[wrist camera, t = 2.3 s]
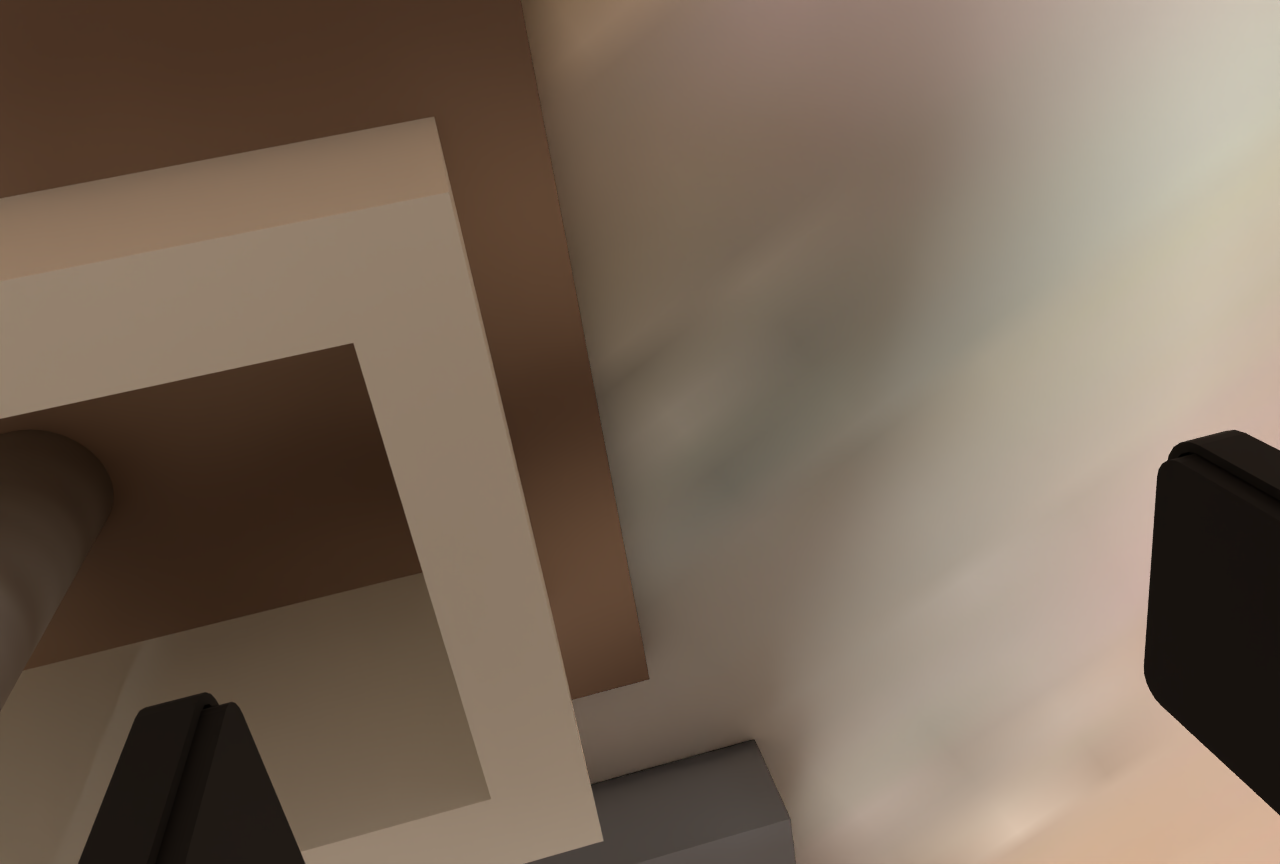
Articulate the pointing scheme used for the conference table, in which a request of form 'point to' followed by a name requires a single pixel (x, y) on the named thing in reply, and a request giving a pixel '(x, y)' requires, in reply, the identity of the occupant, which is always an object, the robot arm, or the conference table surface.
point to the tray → (691, 814)
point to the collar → (331, 625)
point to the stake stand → (301, 384)
